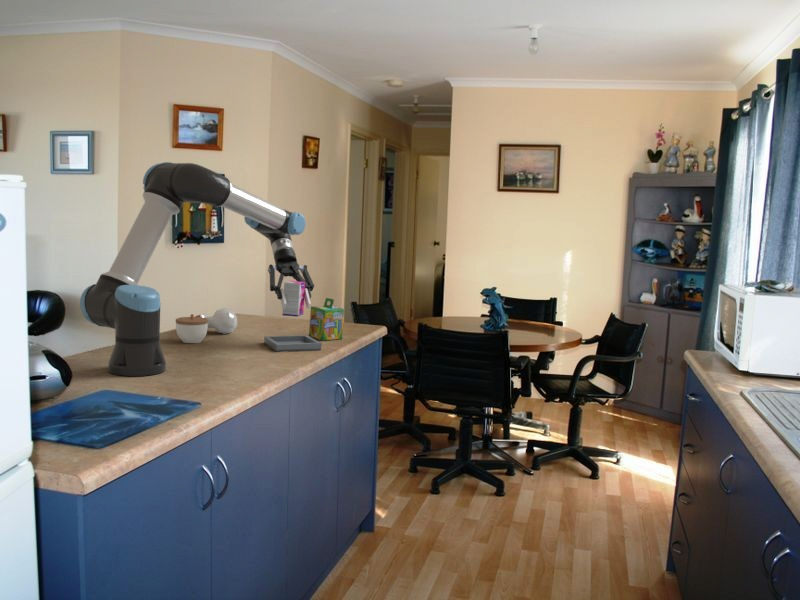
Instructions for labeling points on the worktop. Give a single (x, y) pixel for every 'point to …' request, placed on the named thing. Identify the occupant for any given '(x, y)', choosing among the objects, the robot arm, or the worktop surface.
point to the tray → (292, 343)
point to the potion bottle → (222, 320)
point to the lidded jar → (191, 328)
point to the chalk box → (326, 321)
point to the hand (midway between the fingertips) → (296, 306)
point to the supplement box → (294, 298)
